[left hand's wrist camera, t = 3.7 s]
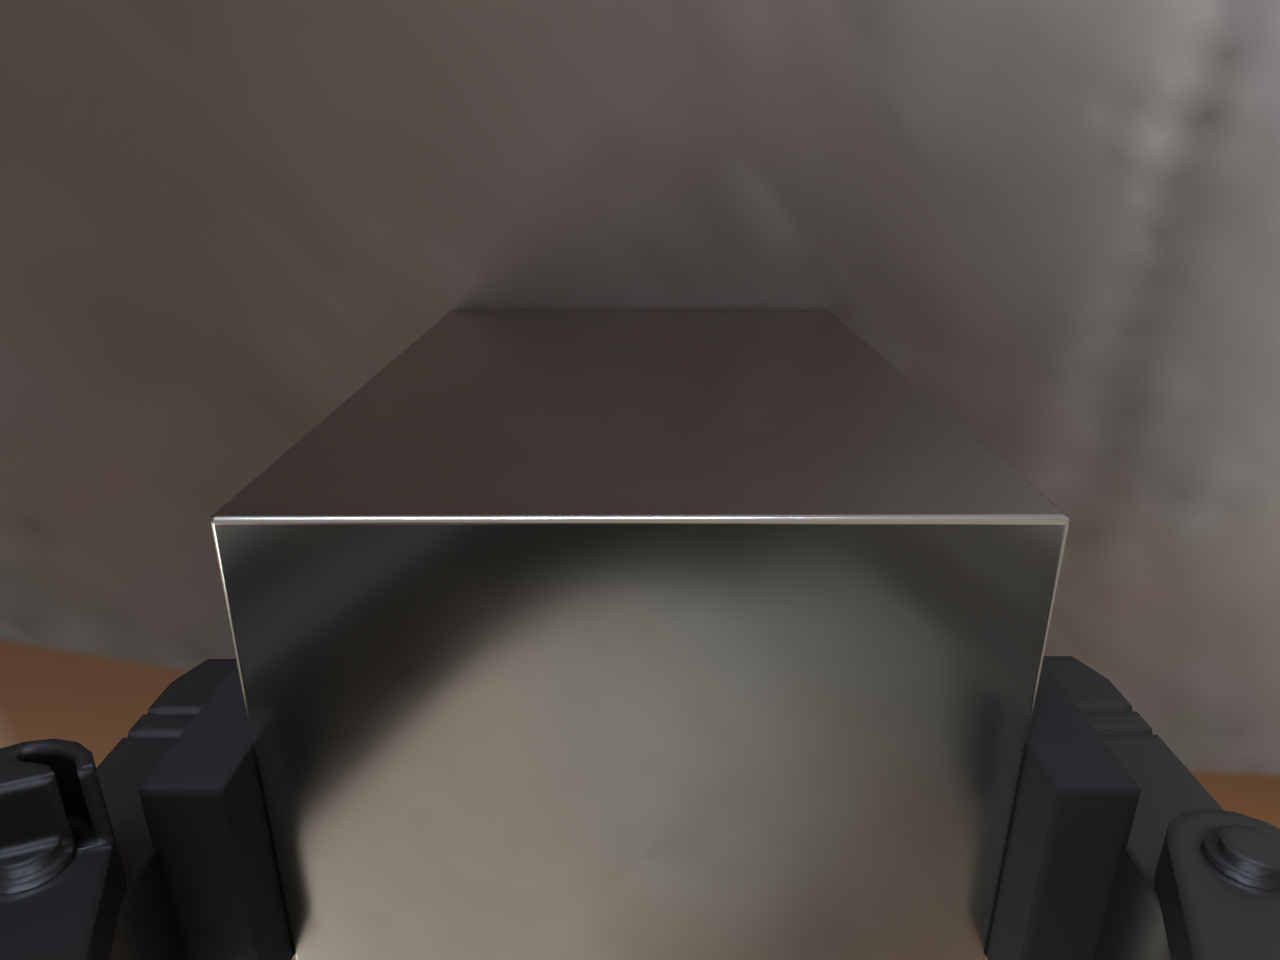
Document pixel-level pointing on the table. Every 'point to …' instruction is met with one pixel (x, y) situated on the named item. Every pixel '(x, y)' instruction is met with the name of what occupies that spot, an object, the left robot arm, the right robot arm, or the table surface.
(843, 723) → the metal block
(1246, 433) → the table surface
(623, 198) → the table surface
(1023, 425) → the table surface
